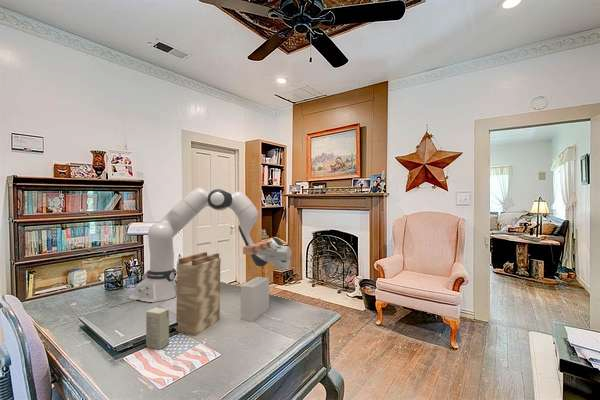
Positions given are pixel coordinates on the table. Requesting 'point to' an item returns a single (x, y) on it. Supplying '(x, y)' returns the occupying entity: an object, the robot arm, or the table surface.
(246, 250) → the bar
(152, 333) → the skincare box
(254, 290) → the shelf
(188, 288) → the chute stand
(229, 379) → the table surface
